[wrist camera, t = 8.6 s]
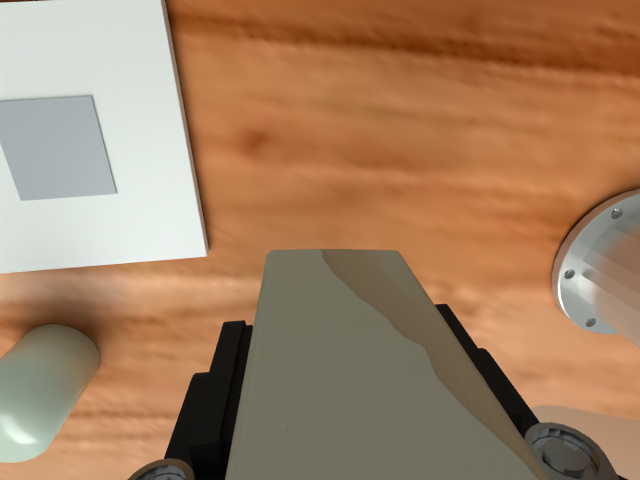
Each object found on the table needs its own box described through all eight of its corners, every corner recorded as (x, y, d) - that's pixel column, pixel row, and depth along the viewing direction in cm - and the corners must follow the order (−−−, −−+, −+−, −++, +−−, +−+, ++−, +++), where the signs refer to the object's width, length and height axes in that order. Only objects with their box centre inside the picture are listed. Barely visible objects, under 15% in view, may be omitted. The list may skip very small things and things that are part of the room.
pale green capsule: (88, 320, 30) (34, 385, 24) (108, 382, 32) (64, 457, 26) (7, 328, 30) (-70, 396, 23) (33, 389, 32) (-31, 467, 26)
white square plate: (164, -2, 23) (158, -6, 22) (209, 250, 29) (206, 257, 28) (-127, 12, 22) (-148, 8, 21) (-18, 269, 28) (-30, 276, 27)
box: (387, 375, 14) (636, 1142, 4) (267, 378, 14) (193, 1217, 4) (401, 240, 12) (967, 1047, 2) (263, 240, 12) (74, 1180, 2)
